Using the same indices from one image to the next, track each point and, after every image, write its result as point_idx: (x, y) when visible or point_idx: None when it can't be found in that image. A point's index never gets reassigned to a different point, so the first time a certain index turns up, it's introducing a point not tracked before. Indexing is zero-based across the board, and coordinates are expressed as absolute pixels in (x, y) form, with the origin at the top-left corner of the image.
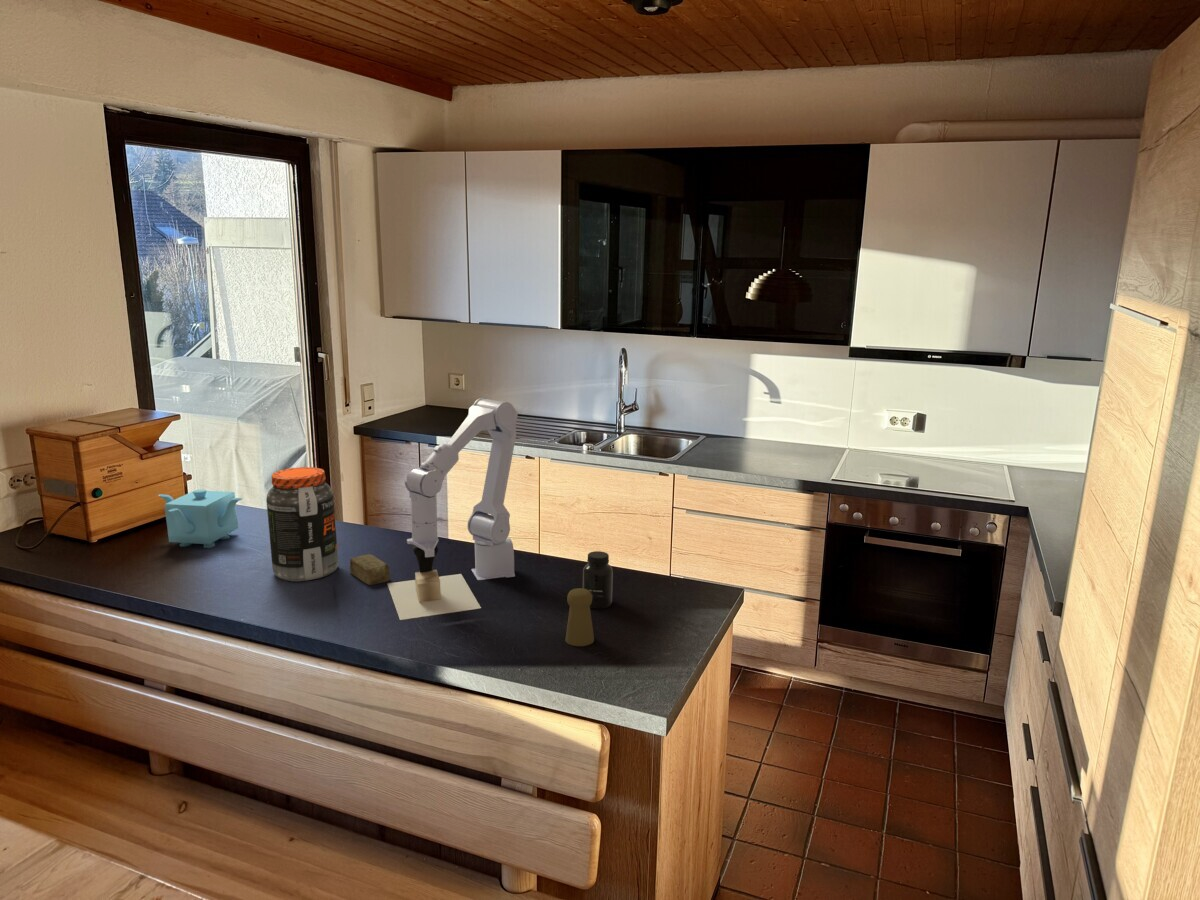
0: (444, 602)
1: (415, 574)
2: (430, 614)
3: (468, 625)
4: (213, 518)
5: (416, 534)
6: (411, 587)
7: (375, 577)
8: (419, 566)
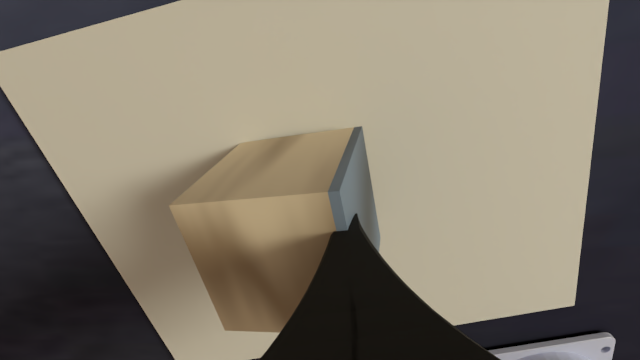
0: None
1: (303, 194)
2: (89, 208)
3: (47, 329)
4: None
5: None
6: (476, 80)
7: None
8: (315, 273)
